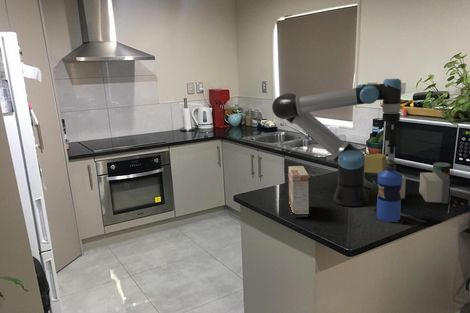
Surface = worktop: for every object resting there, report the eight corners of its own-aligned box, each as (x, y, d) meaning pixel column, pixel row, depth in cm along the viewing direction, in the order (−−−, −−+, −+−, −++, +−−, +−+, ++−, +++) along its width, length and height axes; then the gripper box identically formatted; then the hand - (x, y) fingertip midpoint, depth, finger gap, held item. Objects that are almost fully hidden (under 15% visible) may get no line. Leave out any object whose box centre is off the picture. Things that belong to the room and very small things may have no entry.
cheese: (368, 168, 229) (369, 152, 227) (386, 170, 223) (387, 154, 221) (363, 172, 221) (363, 156, 219) (382, 174, 215) (382, 157, 212)
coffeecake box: (288, 206, 172) (287, 166, 168) (304, 205, 172) (303, 165, 168) (292, 219, 158) (291, 175, 153) (309, 218, 157) (309, 174, 153)
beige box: (384, 197, 177) (385, 177, 174) (382, 193, 182) (383, 173, 180) (404, 198, 174) (405, 177, 172) (402, 194, 180) (403, 174, 178)
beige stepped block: (426, 202, 168) (428, 179, 165) (418, 191, 183) (420, 169, 181) (448, 203, 165) (450, 179, 163) (438, 191, 181) (440, 169, 178)
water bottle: (394, 213, 157) (397, 156, 152) (404, 222, 148) (407, 162, 143) (372, 214, 157) (374, 158, 152) (381, 223, 148) (383, 163, 143)
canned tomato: (445, 188, 186) (447, 167, 183) (429, 185, 191) (430, 164, 189) (451, 184, 191) (453, 163, 188) (435, 181, 196) (436, 161, 194)
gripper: (403, 115, 159) (401, 163, 164) (396, 109, 182) (394, 151, 187) (385, 116, 161) (383, 163, 166) (380, 109, 184) (379, 151, 189)
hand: (389, 156), depth 177 cm, fingers open, 13 cm apart
